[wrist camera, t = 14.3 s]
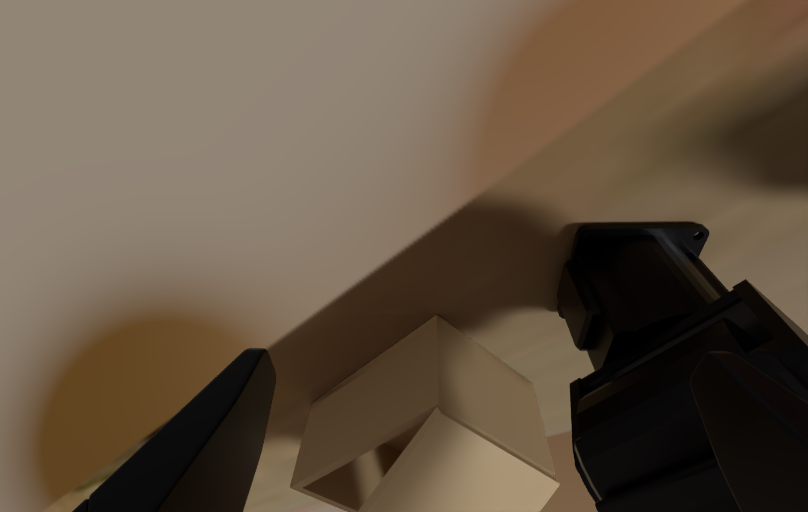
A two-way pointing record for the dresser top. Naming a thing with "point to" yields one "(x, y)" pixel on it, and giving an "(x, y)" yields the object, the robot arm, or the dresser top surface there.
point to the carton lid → (459, 474)
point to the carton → (413, 412)
